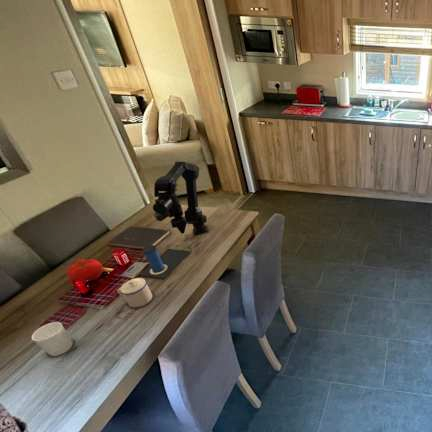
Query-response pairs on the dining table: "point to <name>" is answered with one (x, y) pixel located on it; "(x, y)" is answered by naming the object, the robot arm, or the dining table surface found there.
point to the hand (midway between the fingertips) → (181, 228)
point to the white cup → (53, 338)
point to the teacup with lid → (136, 292)
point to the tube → (153, 258)
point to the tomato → (85, 270)
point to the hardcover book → (139, 237)
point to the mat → (166, 263)
